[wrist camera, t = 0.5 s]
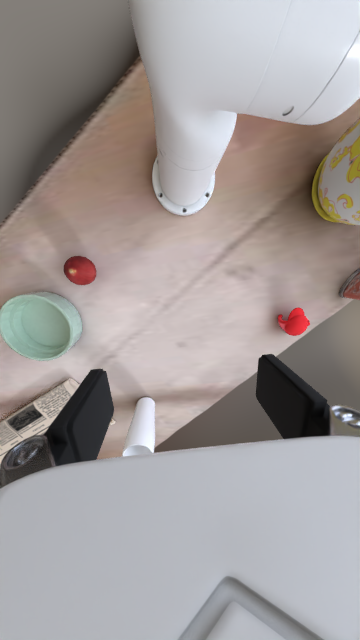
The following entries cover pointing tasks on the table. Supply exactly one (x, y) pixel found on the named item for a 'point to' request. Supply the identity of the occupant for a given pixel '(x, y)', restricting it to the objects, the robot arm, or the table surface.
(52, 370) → the table surface
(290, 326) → the red toy figurine
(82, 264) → the onion
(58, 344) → the bowl
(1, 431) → the newspaper
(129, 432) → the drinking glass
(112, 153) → the table surface
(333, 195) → the flowerpot
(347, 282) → the lighter
